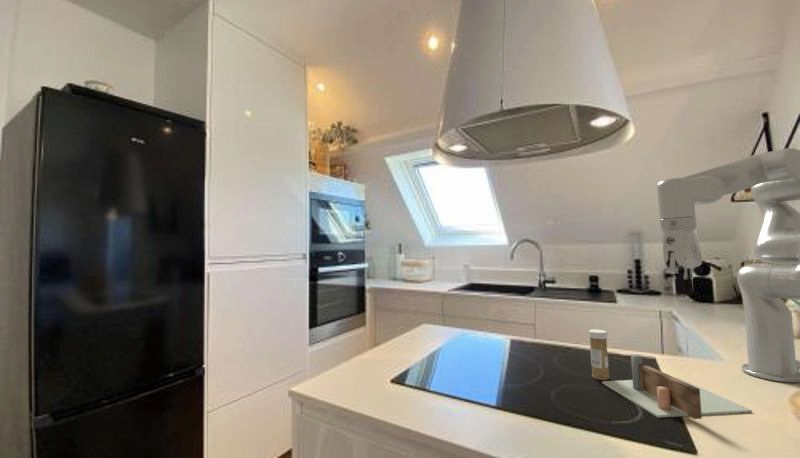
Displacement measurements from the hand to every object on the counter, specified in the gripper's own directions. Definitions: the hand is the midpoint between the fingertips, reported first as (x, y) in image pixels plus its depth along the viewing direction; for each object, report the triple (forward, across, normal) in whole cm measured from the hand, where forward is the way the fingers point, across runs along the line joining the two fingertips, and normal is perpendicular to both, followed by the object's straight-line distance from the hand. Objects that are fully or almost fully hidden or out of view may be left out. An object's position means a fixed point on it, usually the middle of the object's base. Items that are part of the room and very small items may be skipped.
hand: (684, 293), depth 94 cm
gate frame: (+25, -10, +1) cm, 26 cm away
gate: (+23, -17, -2) cm, 29 cm away
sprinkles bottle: (+25, -12, +18) cm, 33 cm away
